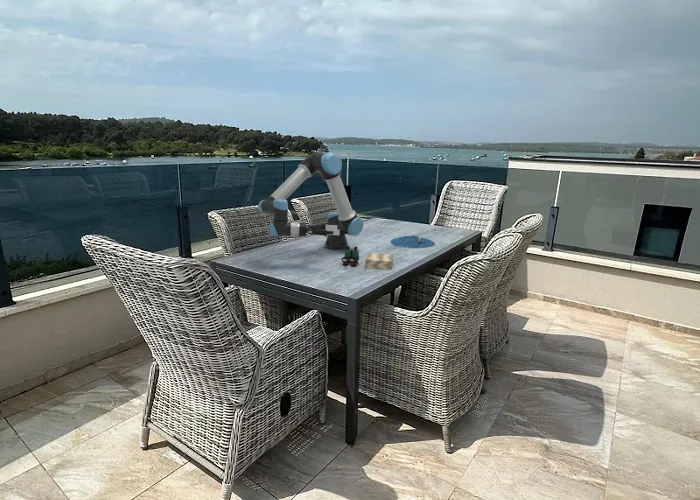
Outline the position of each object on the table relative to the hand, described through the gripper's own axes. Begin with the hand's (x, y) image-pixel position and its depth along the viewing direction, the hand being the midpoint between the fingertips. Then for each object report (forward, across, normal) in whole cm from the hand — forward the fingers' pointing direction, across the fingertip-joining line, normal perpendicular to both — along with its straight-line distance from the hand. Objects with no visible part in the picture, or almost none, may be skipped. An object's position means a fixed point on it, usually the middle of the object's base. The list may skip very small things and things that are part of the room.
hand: (338, 230), depth 205 cm
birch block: (+24, +2, -20) cm, 31 cm away
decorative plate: (+57, -46, -17) cm, 75 cm away
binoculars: (+8, 0, -20) cm, 21 cm away
